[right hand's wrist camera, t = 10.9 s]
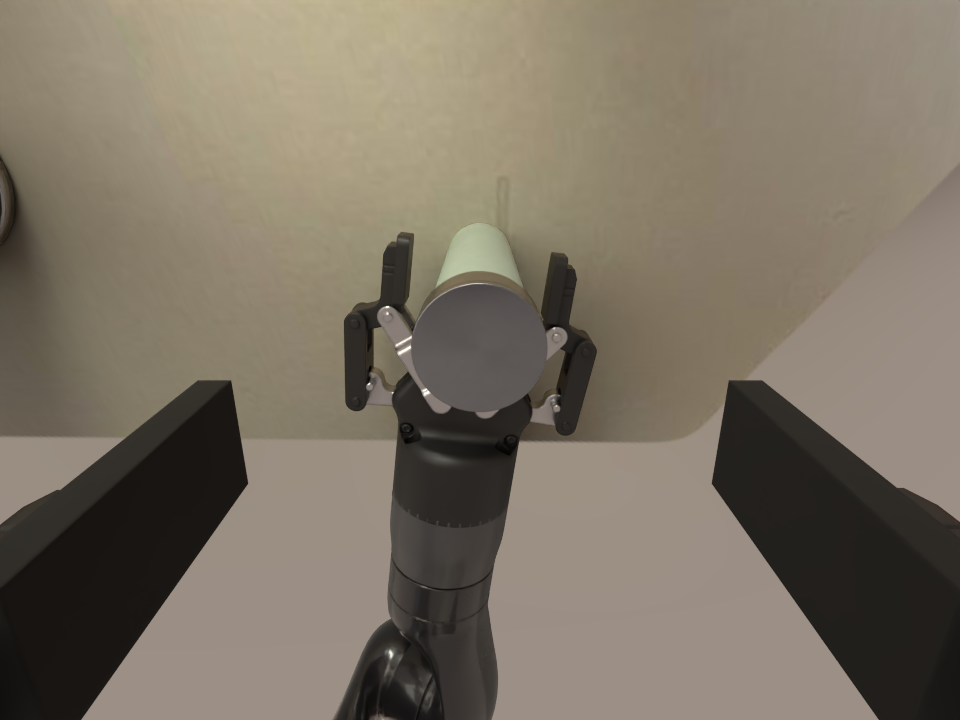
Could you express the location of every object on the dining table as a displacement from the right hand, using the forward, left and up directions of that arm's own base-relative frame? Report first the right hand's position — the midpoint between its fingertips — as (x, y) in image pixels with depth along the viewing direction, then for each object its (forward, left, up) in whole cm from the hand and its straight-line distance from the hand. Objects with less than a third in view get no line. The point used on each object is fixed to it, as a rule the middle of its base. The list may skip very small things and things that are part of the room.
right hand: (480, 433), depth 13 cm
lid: (0, 0, -6) cm, 6 cm away
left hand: (-1, +1, -19) cm, 19 cm away
